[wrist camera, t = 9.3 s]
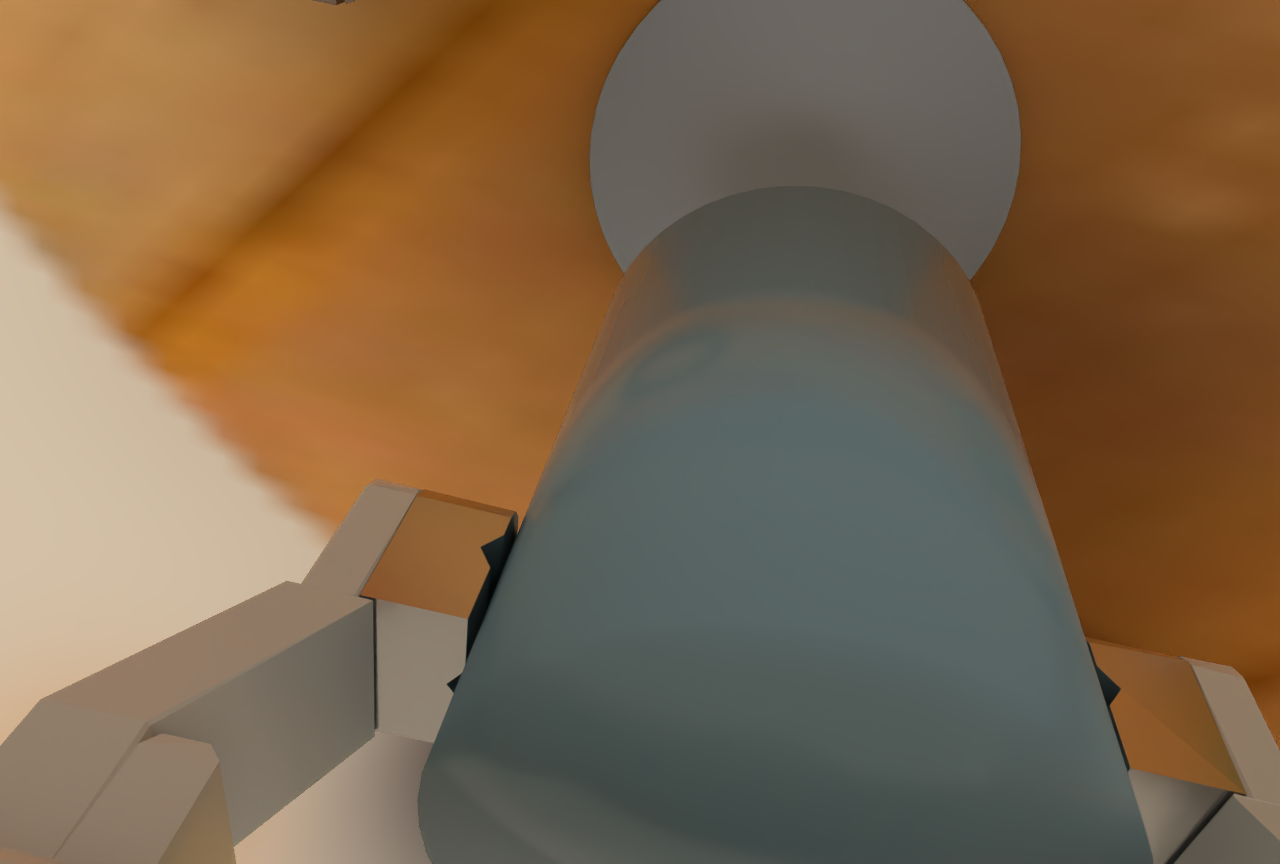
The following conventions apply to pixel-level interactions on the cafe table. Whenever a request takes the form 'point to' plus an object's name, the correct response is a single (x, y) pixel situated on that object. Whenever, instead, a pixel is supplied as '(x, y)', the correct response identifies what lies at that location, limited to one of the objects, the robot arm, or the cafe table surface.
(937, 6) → the coaster
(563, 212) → the cafe table surface
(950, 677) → the blue pot
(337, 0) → the ring holder
